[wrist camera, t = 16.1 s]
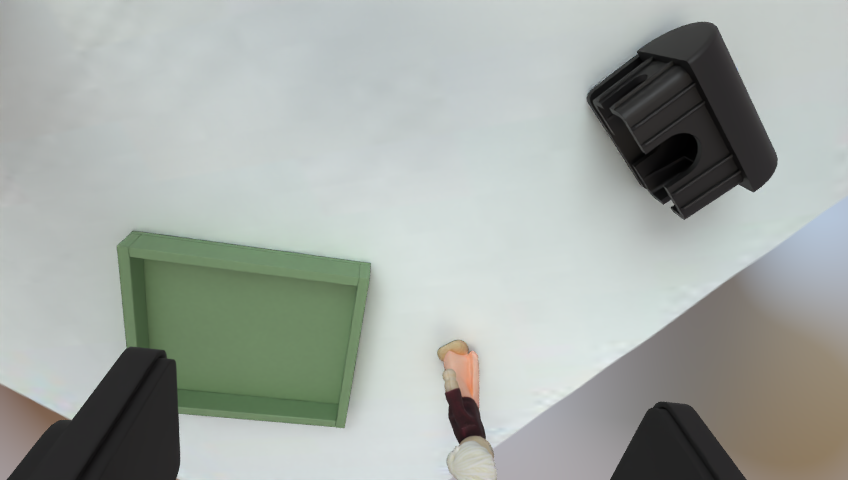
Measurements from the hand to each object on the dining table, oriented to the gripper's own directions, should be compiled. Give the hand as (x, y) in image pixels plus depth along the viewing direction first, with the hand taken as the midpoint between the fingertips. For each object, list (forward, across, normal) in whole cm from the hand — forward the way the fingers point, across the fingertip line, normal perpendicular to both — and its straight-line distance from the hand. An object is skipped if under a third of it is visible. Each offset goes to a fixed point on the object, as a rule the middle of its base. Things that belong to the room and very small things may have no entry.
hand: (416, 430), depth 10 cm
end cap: (+26, -18, -4) cm, 32 cm away
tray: (+26, +9, +19) cm, 34 cm away
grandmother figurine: (+26, -9, +19) cm, 34 cm away
